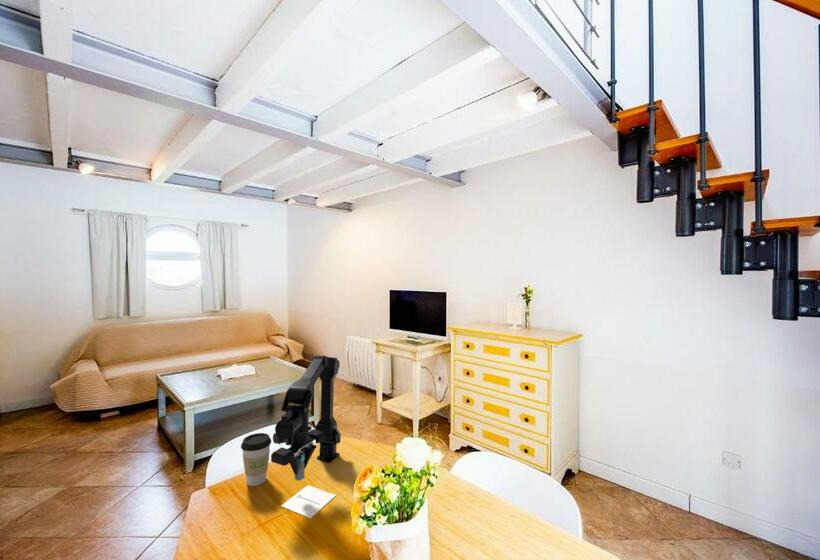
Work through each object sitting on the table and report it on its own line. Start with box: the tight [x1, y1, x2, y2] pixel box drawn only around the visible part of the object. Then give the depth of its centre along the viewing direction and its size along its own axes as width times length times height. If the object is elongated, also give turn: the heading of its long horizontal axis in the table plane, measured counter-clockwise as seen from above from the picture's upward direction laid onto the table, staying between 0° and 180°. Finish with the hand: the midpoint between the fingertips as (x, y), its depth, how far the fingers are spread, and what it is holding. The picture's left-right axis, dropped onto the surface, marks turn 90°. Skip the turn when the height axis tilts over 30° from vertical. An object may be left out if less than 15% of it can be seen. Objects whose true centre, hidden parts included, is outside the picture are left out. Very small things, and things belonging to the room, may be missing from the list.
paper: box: [280, 485, 337, 519], centre depth 114 cm, size 12×12×1 cm
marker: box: [294, 450, 306, 481], centre depth 116 cm, size 3×3×8 cm
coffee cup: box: [240, 432, 272, 487], centre depth 125 cm, size 10×10×15 cm
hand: (299, 471), depth 116 cm, fingers closed on marker, 3 cm apart
